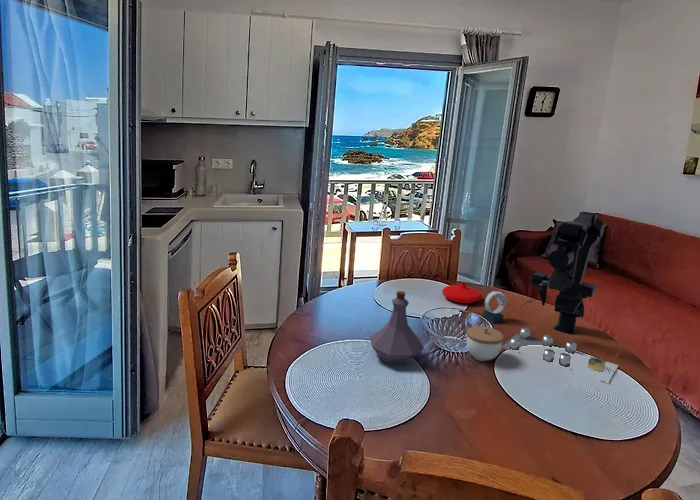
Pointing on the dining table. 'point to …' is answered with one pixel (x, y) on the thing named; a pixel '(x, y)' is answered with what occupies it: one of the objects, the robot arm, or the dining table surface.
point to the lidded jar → (484, 342)
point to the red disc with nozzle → (462, 293)
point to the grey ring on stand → (495, 315)
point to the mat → (536, 342)
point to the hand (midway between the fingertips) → (558, 309)
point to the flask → (397, 335)
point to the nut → (596, 364)
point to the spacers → (548, 353)
